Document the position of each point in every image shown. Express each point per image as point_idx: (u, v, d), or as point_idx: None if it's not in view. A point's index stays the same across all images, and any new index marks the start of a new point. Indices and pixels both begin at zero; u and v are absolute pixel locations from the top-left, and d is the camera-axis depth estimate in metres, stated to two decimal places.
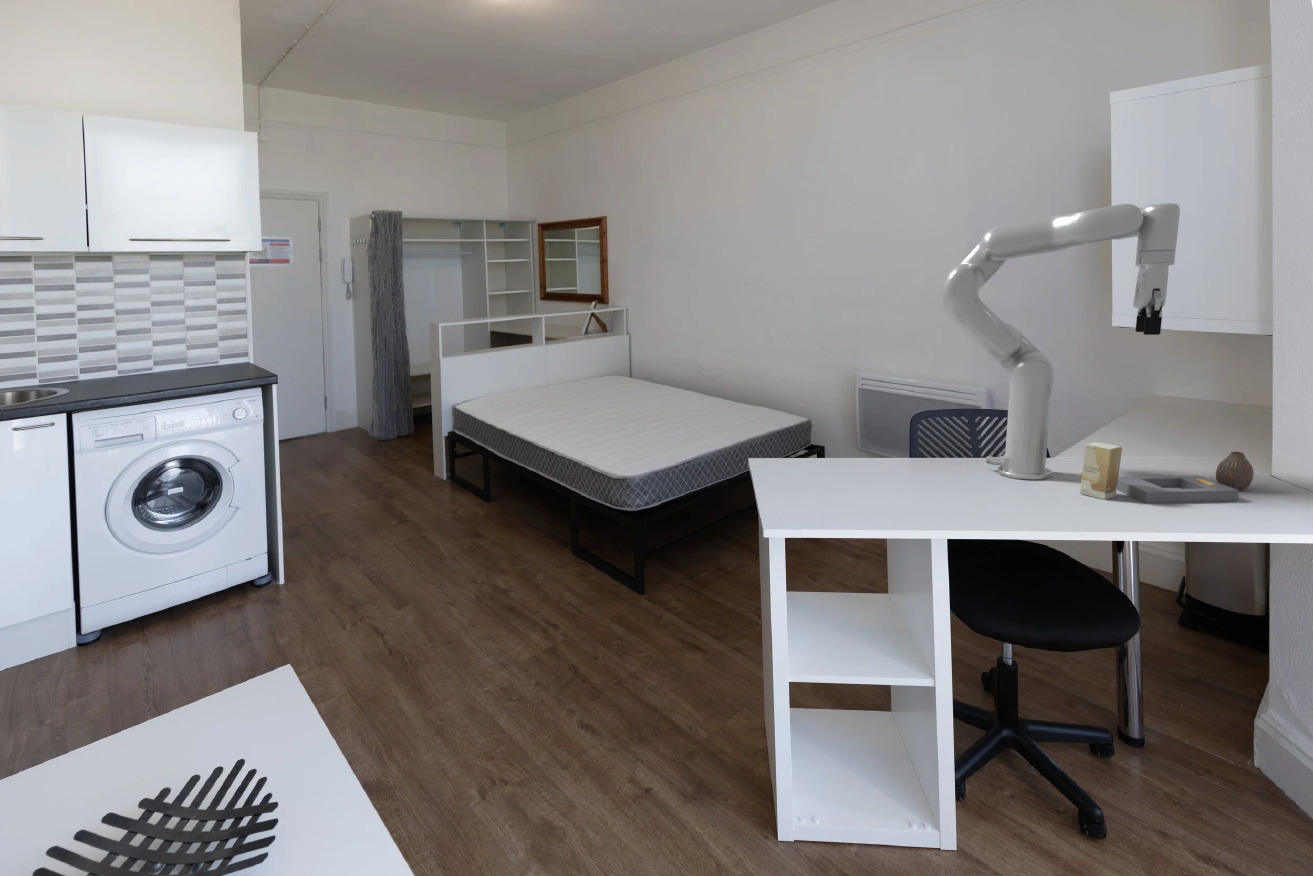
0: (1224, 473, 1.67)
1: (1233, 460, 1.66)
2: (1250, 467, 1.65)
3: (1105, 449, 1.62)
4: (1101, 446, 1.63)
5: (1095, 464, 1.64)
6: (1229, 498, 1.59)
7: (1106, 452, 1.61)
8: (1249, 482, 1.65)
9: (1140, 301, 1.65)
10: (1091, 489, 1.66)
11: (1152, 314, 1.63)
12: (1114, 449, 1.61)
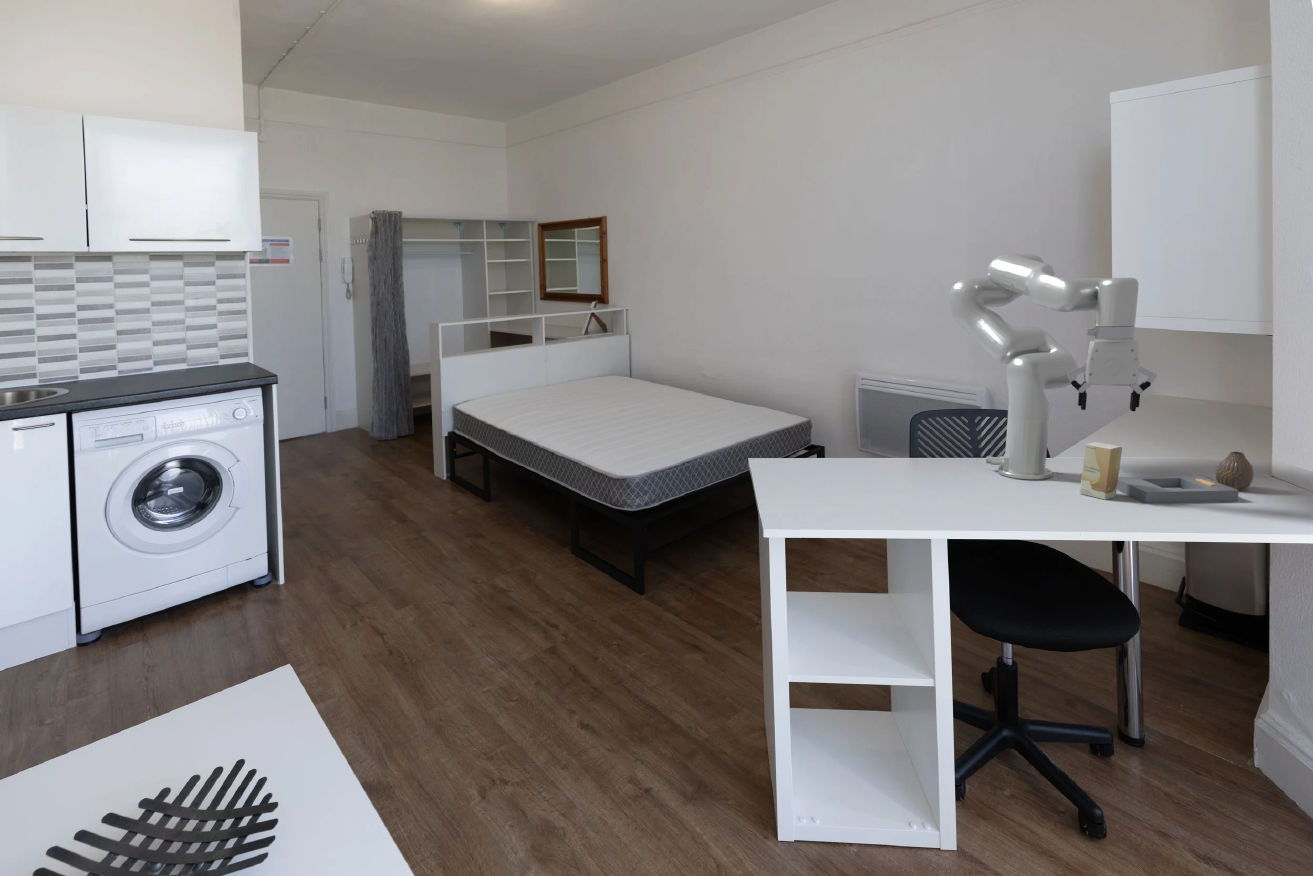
0: (1224, 473, 1.67)
1: (1233, 460, 1.66)
2: (1250, 467, 1.65)
3: (1105, 449, 1.62)
4: (1101, 446, 1.63)
5: (1095, 464, 1.64)
6: (1229, 498, 1.59)
7: (1106, 452, 1.61)
8: (1249, 482, 1.65)
9: (1133, 378, 1.57)
10: (1091, 489, 1.66)
11: None
12: (1114, 449, 1.61)
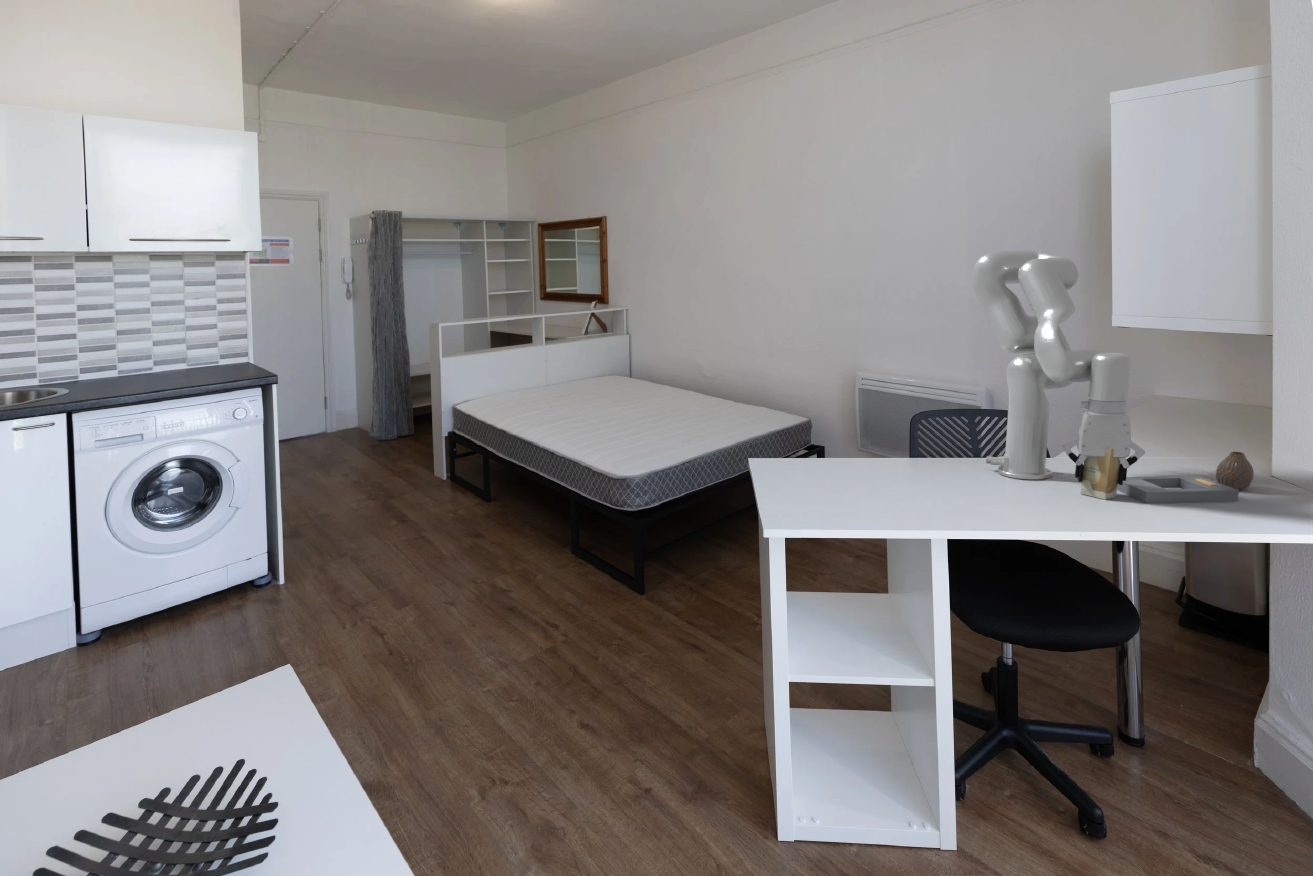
0: (1224, 473, 1.67)
1: (1233, 460, 1.66)
2: (1250, 467, 1.65)
3: (1106, 449, 1.61)
4: None
5: (1095, 464, 1.64)
6: (1229, 498, 1.59)
7: (1106, 452, 1.61)
8: (1249, 482, 1.65)
9: (1124, 451, 1.60)
10: (1091, 489, 1.66)
11: None
12: None
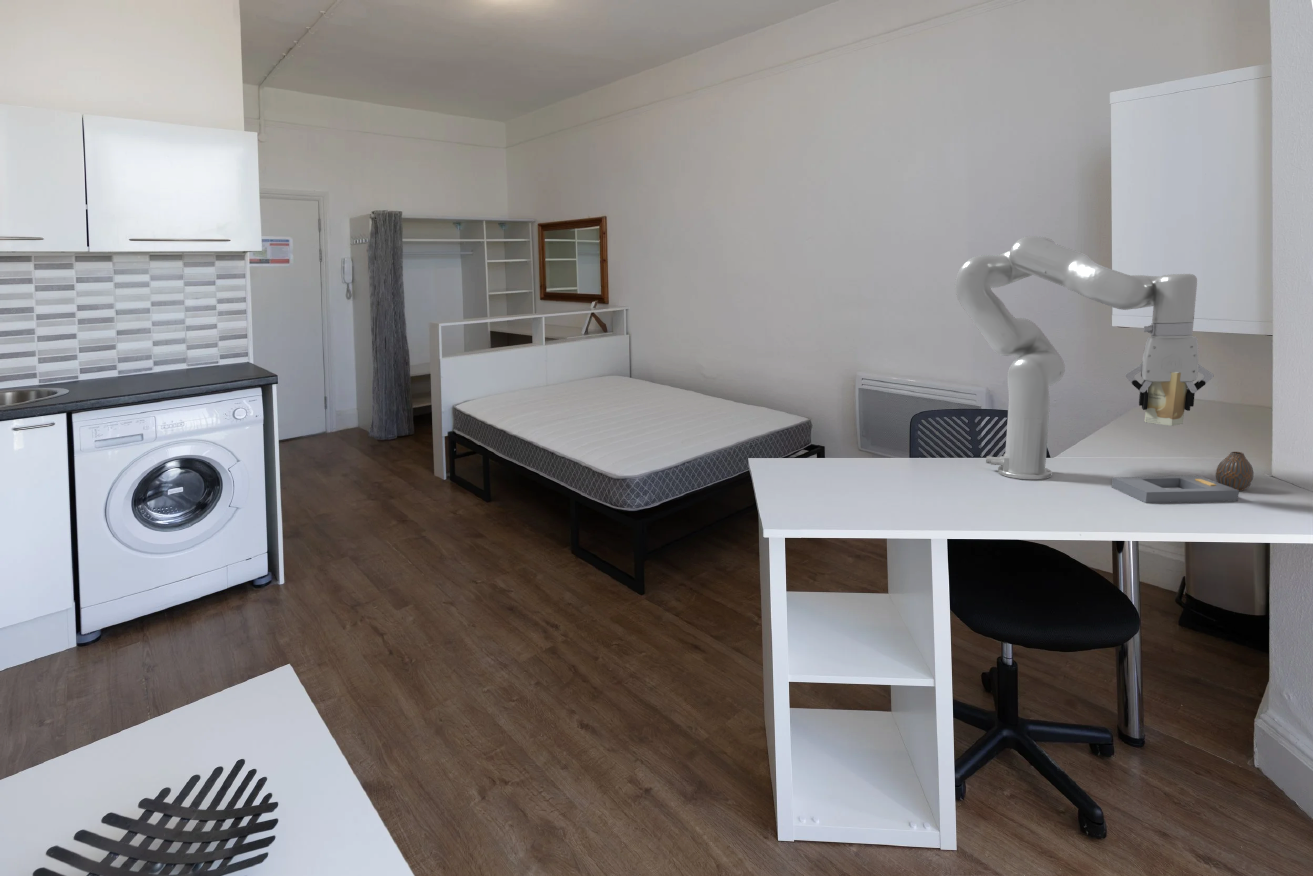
0: (1224, 473, 1.67)
1: (1233, 460, 1.66)
2: (1250, 467, 1.65)
3: (1172, 373, 1.57)
4: None
5: (1160, 390, 1.60)
6: (1229, 498, 1.59)
7: (1172, 376, 1.57)
8: (1249, 482, 1.65)
9: (1192, 374, 1.56)
10: (1157, 416, 1.61)
11: None
12: None
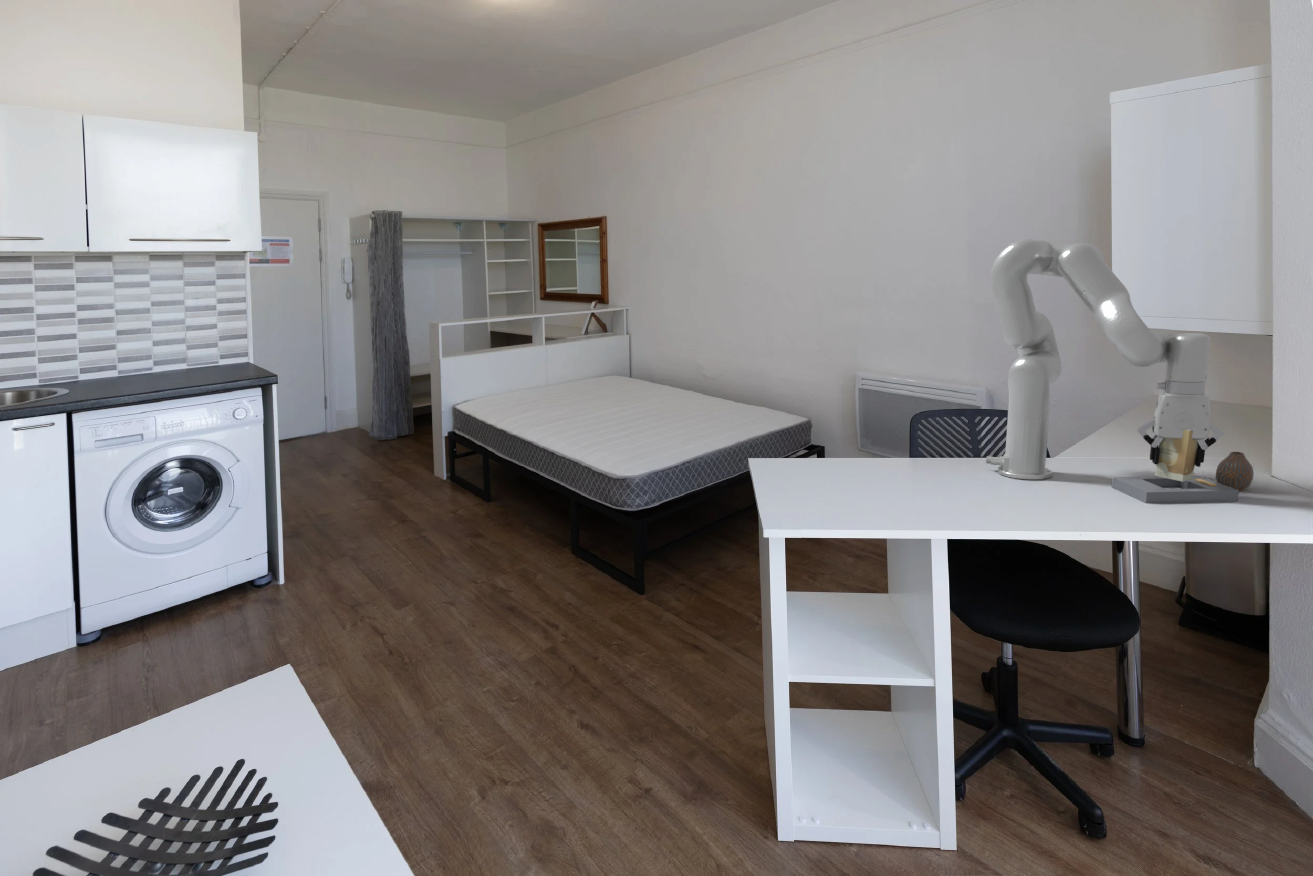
0: (1224, 473, 1.67)
1: (1233, 460, 1.66)
2: (1250, 467, 1.65)
3: (1184, 430, 1.60)
4: None
5: (1172, 445, 1.62)
6: (1229, 498, 1.59)
7: (1185, 433, 1.60)
8: (1249, 482, 1.65)
9: (1203, 432, 1.59)
10: (1168, 471, 1.64)
11: None
12: None
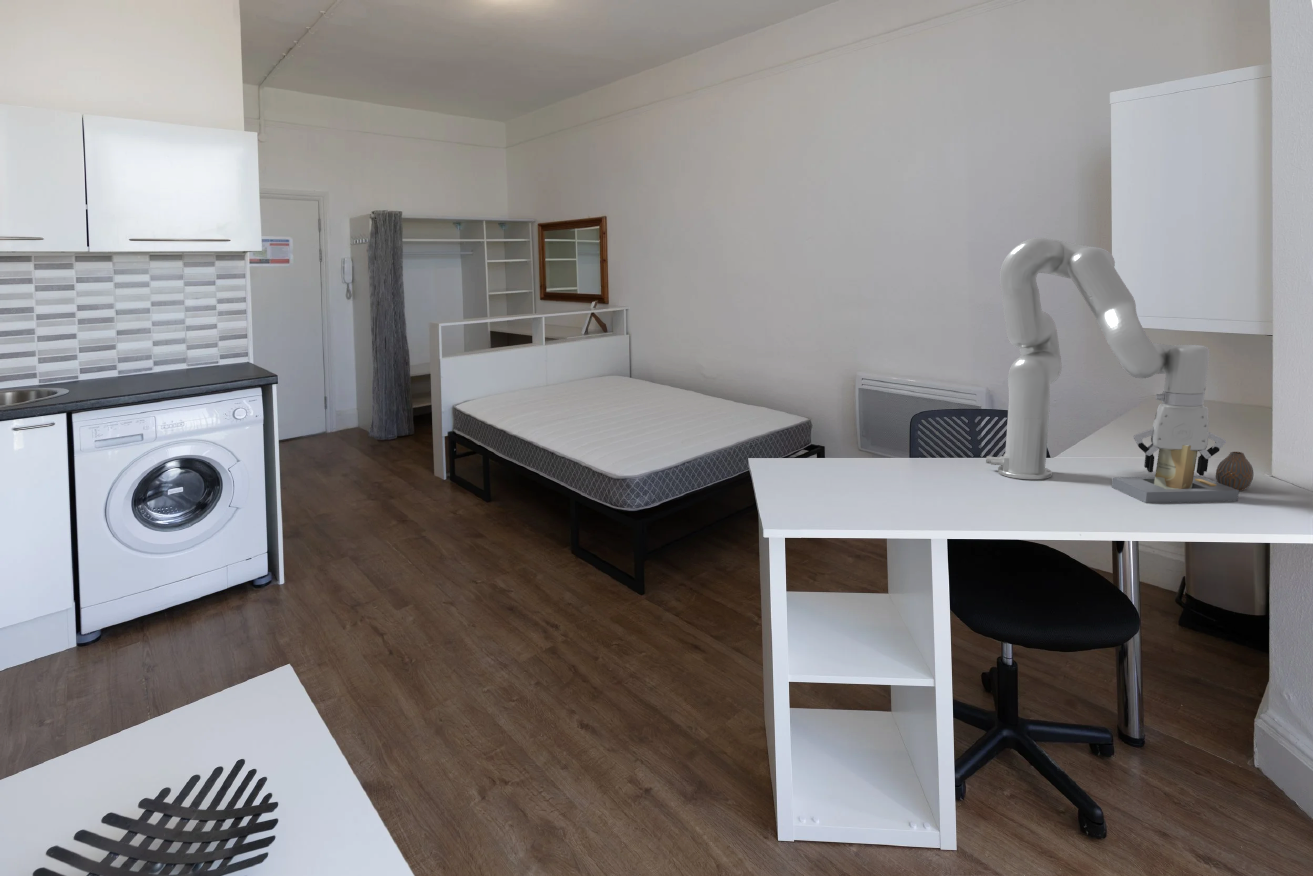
0: (1224, 473, 1.67)
1: (1233, 460, 1.66)
2: (1250, 467, 1.65)
3: (1182, 445, 1.61)
4: None
5: (1170, 460, 1.63)
6: (1229, 498, 1.59)
7: (1183, 449, 1.61)
8: (1249, 482, 1.65)
9: (1202, 444, 1.59)
10: (1166, 485, 1.65)
11: None
12: None
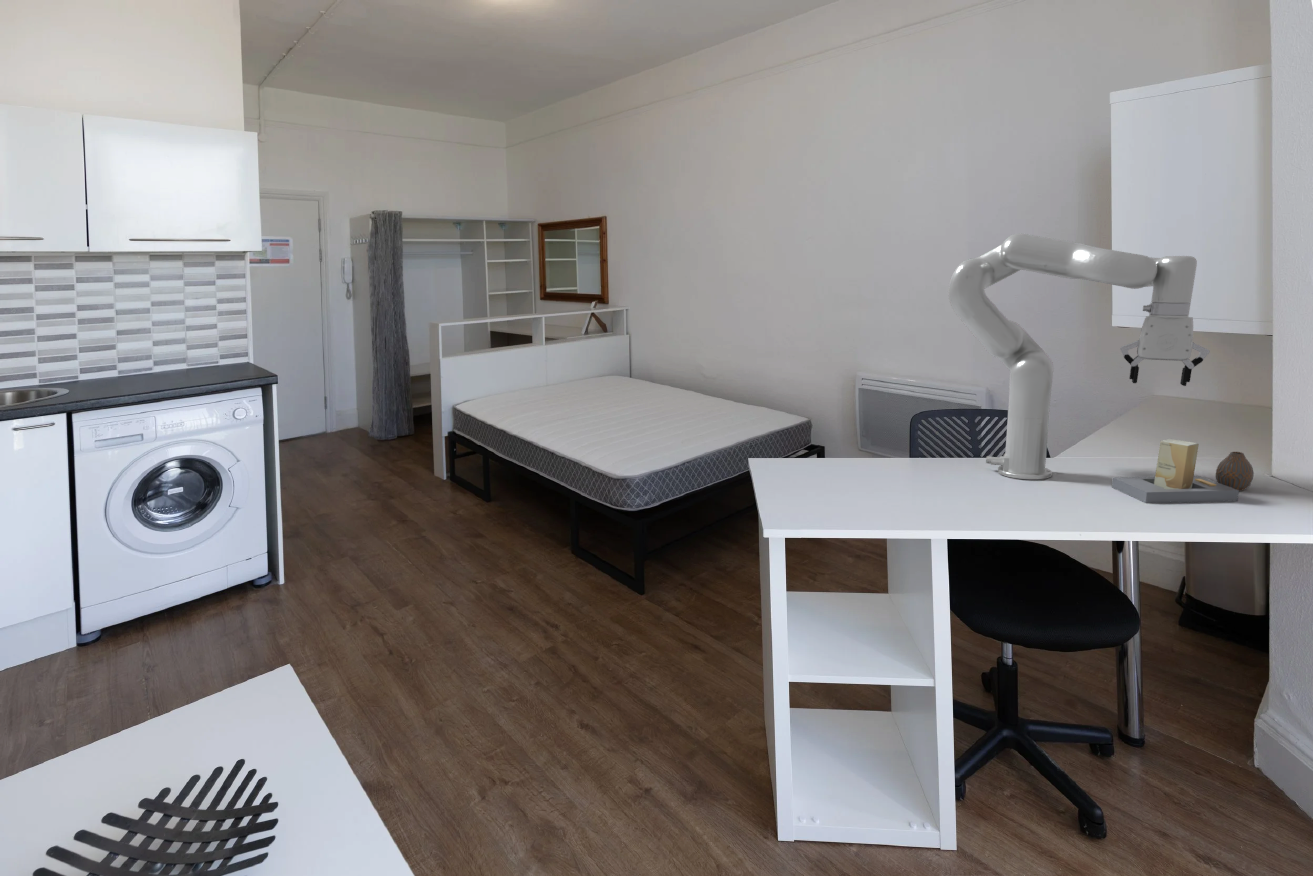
0: (1224, 473, 1.67)
1: (1233, 460, 1.66)
2: (1250, 467, 1.65)
3: (1182, 445, 1.61)
4: (1177, 443, 1.62)
5: (1170, 460, 1.63)
6: (1229, 498, 1.59)
7: (1183, 449, 1.61)
8: (1249, 482, 1.65)
9: (1185, 353, 1.63)
10: (1166, 485, 1.65)
11: None
12: (1191, 446, 1.60)
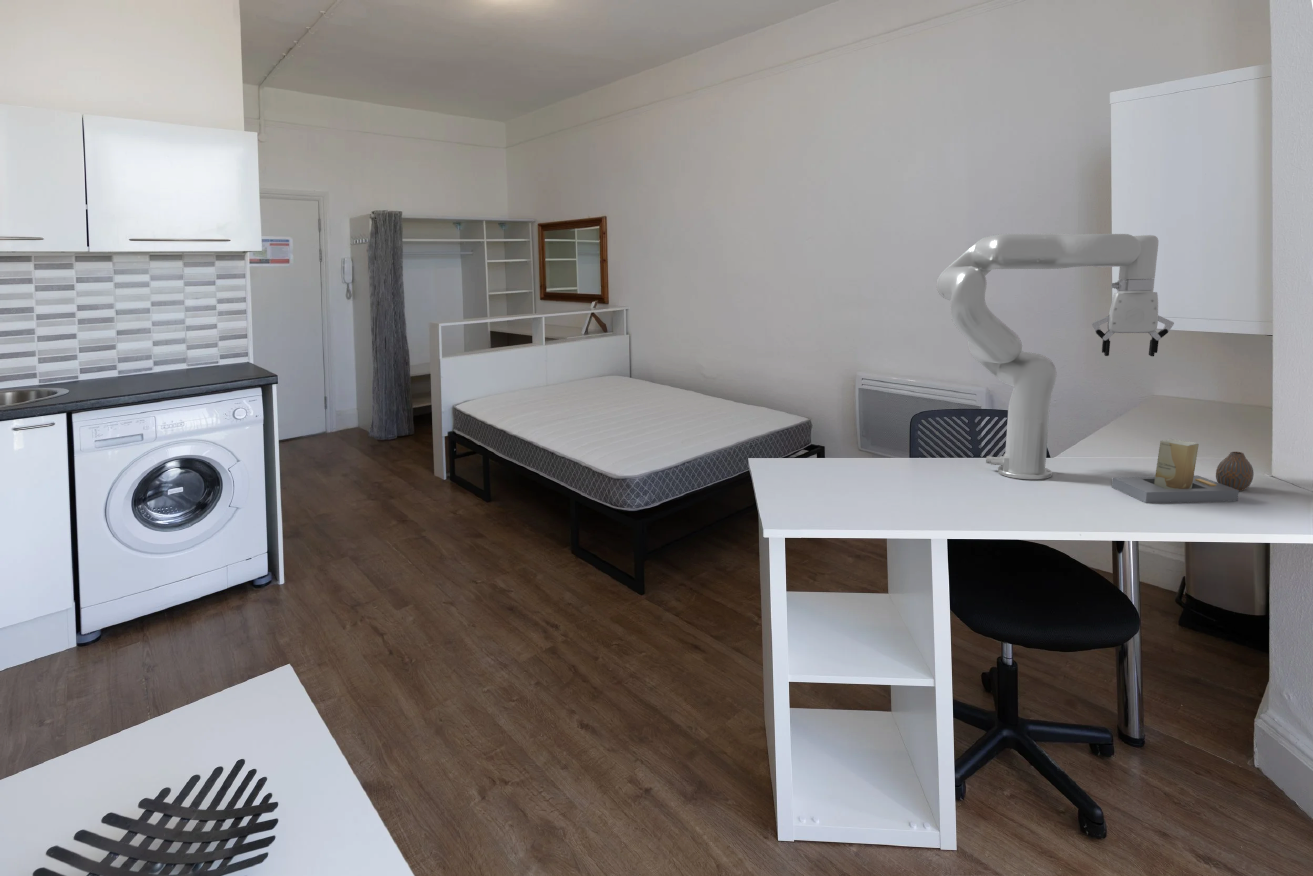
0: (1224, 473, 1.67)
1: (1233, 460, 1.66)
2: (1250, 467, 1.65)
3: (1182, 445, 1.61)
4: (1177, 443, 1.62)
5: (1170, 460, 1.63)
6: (1229, 498, 1.59)
7: (1183, 449, 1.61)
8: (1249, 482, 1.65)
9: (1152, 325, 1.75)
10: (1166, 485, 1.65)
11: None
12: (1191, 446, 1.60)
